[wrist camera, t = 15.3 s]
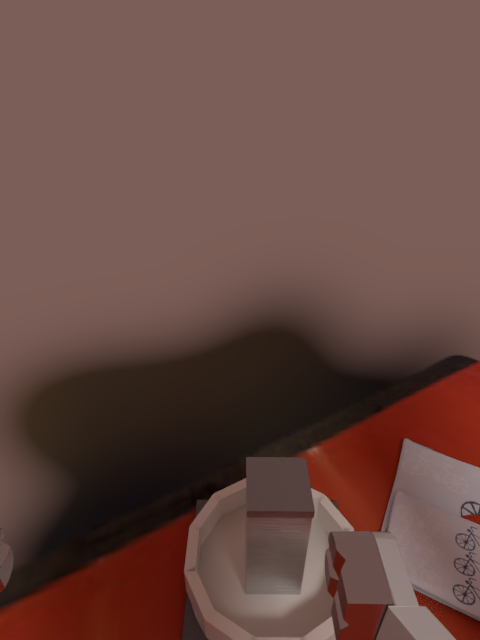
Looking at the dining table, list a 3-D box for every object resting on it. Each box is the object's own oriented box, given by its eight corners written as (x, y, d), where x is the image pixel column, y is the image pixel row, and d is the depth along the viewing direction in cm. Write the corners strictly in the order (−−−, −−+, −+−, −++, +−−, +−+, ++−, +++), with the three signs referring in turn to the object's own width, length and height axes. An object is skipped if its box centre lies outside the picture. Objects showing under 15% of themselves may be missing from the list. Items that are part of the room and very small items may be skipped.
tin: (294, 540, 42) (305, 457, 36) (301, 595, 37) (314, 511, 31) (244, 540, 42) (246, 457, 36) (244, 595, 37) (246, 510, 31)
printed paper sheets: (367, 573, 41) (371, 561, 40) (402, 441, 56) (405, 430, 55) (602, 691, 33) (614, 680, 32) (568, 500, 49) (576, 488, 48)
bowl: (336, 501, 47) (340, 477, 45) (375, 676, 33) (384, 653, 31) (196, 499, 47) (195, 476, 45) (177, 674, 33) (174, 651, 31)
